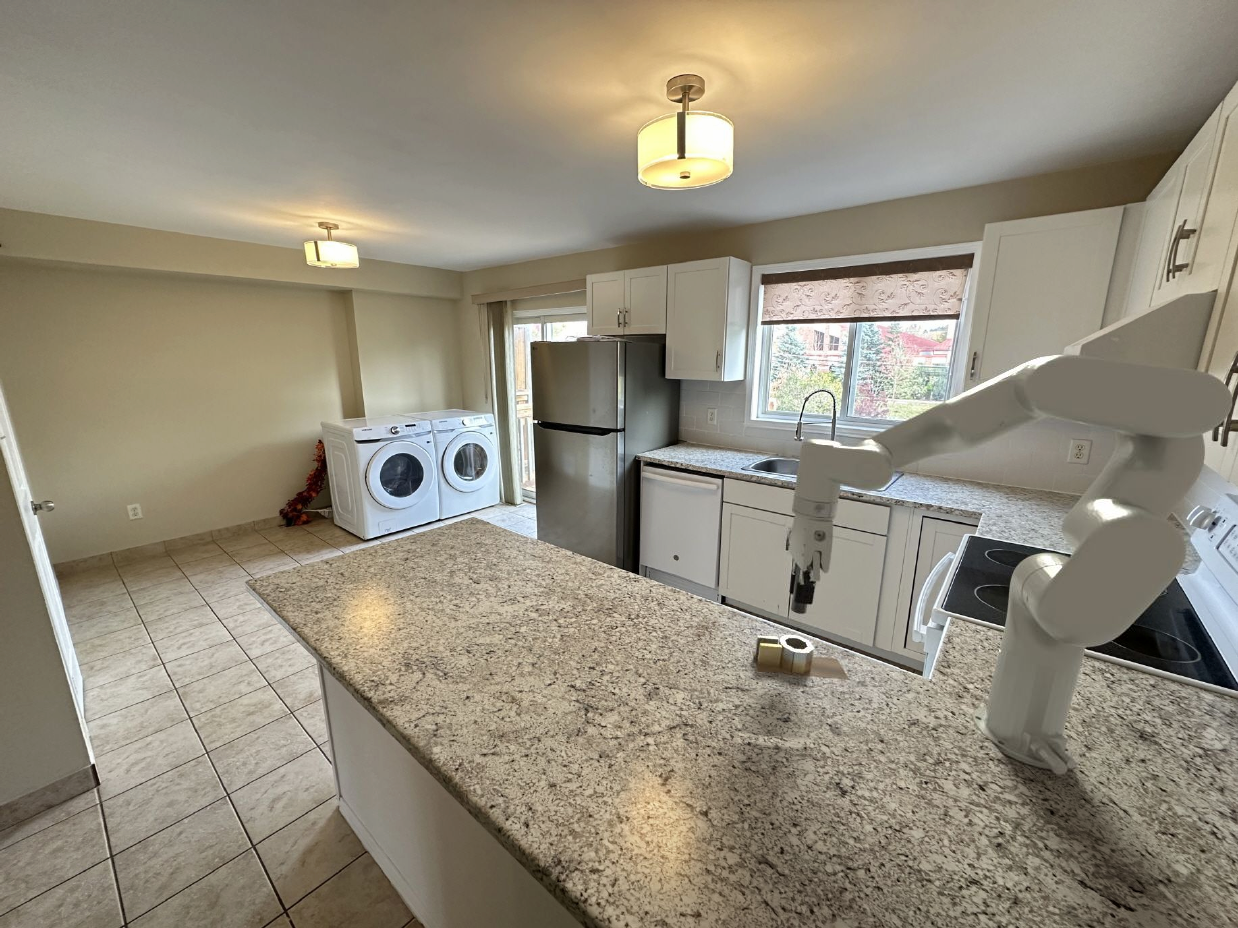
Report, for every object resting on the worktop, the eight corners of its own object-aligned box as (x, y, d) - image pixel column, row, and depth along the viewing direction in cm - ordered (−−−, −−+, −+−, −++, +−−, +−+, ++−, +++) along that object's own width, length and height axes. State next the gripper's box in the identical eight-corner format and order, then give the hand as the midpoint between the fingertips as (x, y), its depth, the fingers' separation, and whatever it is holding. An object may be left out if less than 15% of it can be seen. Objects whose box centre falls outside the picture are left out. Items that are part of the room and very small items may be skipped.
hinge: (813, 674, 91) (817, 653, 90) (759, 669, 92) (762, 648, 91) (804, 656, 97) (807, 636, 96) (753, 651, 98) (755, 631, 97)
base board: (848, 682, 91) (849, 679, 90) (757, 674, 92) (758, 670, 92) (836, 662, 97) (836, 658, 97) (751, 654, 98) (751, 651, 98)
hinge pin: (808, 614, 91) (815, 570, 89) (793, 613, 91) (799, 568, 89) (803, 607, 94) (810, 564, 92) (789, 605, 94) (795, 562, 92)
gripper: (852, 522, 80) (835, 622, 84) (820, 496, 96) (807, 582, 100) (806, 518, 80) (792, 618, 84) (782, 493, 96) (770, 578, 100)
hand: (800, 597), depth 92 cm, fingers closed on hinge pin, 2 cm apart
